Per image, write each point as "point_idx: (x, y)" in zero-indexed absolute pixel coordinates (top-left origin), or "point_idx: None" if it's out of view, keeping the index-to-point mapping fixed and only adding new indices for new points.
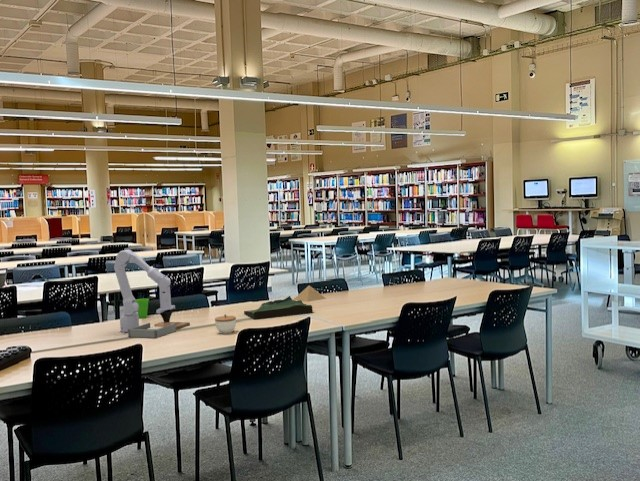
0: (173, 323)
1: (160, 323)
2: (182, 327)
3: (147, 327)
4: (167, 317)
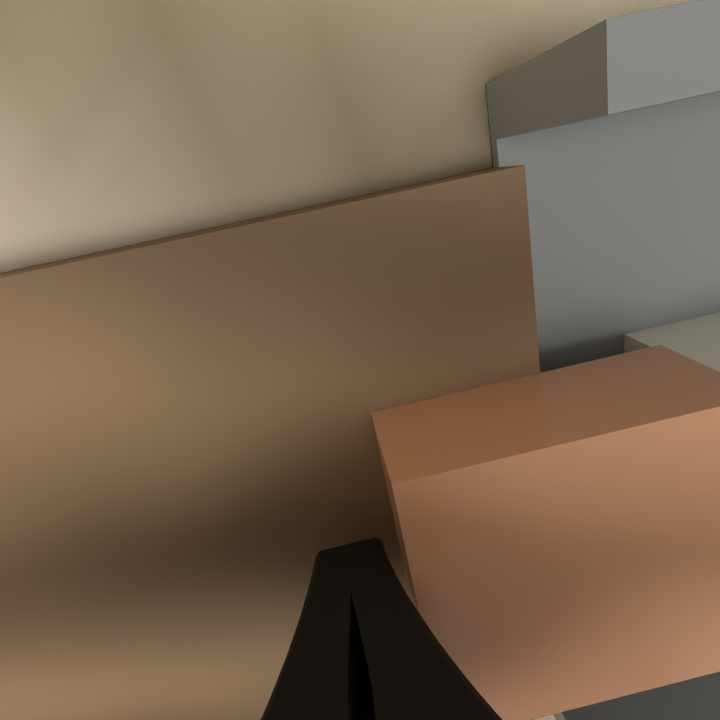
0: (27, 658)
1: (641, 597)
2: (54, 263)
3: (665, 717)
4: (494, 711)
